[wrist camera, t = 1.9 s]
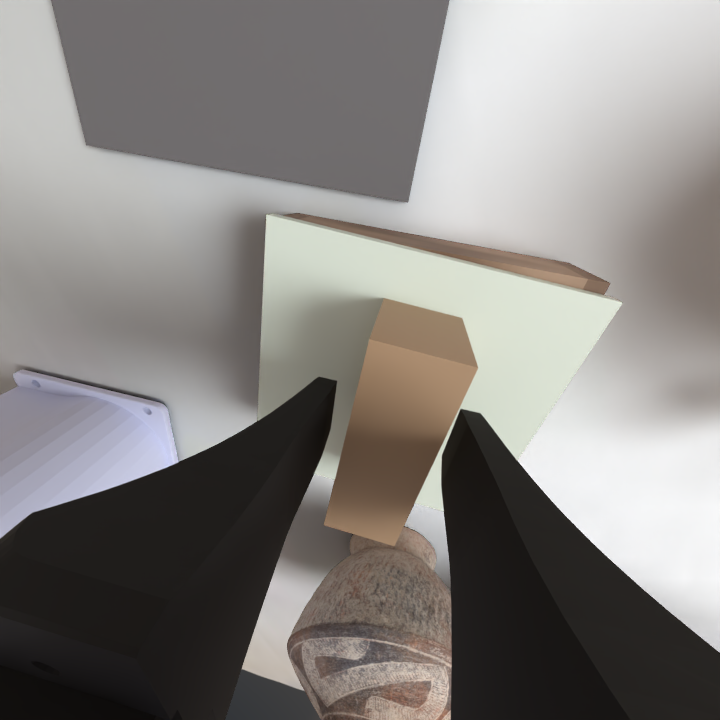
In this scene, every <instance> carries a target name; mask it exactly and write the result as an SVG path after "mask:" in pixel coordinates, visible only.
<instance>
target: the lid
mask: <svg viewBox="0 0 720 720" xmlns="http://www.w3.org/2000/svg"><path fill="white" fill-rule="evenodd" d="M622 303H623V302H621V301H619V300H617V299H615V298H614V297H610V296H606V295H602V294H598V293H594V292H590V291H586V290H582V289H578V288H574V287H570V286H566V285H562V284H558V283H554V282H550V281H546V280H542V279H537V278H533V277H529V276H525V275H521V274H517V273H513V272H509V271H505V270H501V269H497V268H493V267H489V266H485V265H481V264H477V263H473V262H469V261H465V260H461V259H457V258H452V257H448V256H444V255H440V254H436V253H432V252H428V251H424V250H420V249H416V248H412V247H408V246H404V245H400V244H396V243H392V242H388V241H384V240H380V239H376V238H371V237H367V236H363V235H359V234H355V233H351V232H347V231H343V230H339V229H335V228H331V227H327V226H323V225H319V224H315V223H311V222H307V221H303V220H299V219H295V218H291V217H286V216H282V215H278V214H274V213H273V214H266V233H265V255H264V278H263V300H262V322H261V345H260V367H259V389H258V411H257V421H258V420H260V419H262V418H263V417H265V416H266V415H268V414H269V413H271V412H272V411H274V410H275V409H277V408H278V407H279V406H281V405H282V404H283V403H285V402H286V401H288V400H289V399H290V398H292V397H293V396H294V395H296V394H297V393H298V392H299V391H301V390H302V389H303V388H305V387H306V386H307V385H308V384H309V383H311V382H312V381H313V380H314V379H316V378H317V377H323V378H328V379H332V380H336V381H337V387H336V394H335V402H334V409H333V416H332V423H331V430H330V433H329V436H328V439H327V442H326V445H325V448H324V451H323V455H322V457H321V459H320V462H319V464H318V466H317V468H316V471H315V473H314V474H315V475H319V476H322V477H326V478H329V479H333V480H335V481H334V485H333V489H332V493H331V497H330V501H329V505H328V510H327V514H326V518H325V522H324V525H325V526H328V527H331V528H335V529H338V530H341V531H345V532H348V533H351V534H355V535H358V536H361V537H365V538H368V539H372V540H375V541H378V542H382V543H385V544H388V545H392V546H395V544H396V542H397V539H398V537H399V535H400V533H401V531H402V529H403V527H404V525H405V522H406V520H407V518H408V516H409V514H410V512H411V510H412V508H413V506H414V503H415V504H419V505H422V506H426V507H429V508H433V509H436V510H439V511H443V512H444V508H443V499H442V489H441V465H442V454H443V451H444V449H445V446H446V444H447V441H448V439H449V436H450V434H451V431H452V429H453V426H454V424H455V421H456V419H457V416H458V414H459V411H460V409H465V410H469V411H473V412H478V413H481V414H482V416H483V417H484V418H485V419H486V421H487V422H488V423H489V424H490V426H491V427H492V428H493V430H494V431H495V432H496V434H497V435H498V436H499V438H500V439H501V440H502V442H503V443H504V444H505V446H506V447H507V448H508V450H509V451H510V452H511V453H512V455H513V456H514V457H515V458H516V460H518V459H519V457H520V456H521V454H522V453H523V451H524V450H525V448H526V447H527V446H528V444H529V443H530V441H531V440H532V438H533V437H534V435H535V434H536V432H537V431H538V429H539V428H540V426H541V425H542V423H543V422H544V420H545V419H546V417H547V416H548V414H549V413H550V411H551V410H552V408H553V407H554V405H555V404H556V402H557V401H558V399H559V398H560V396H561V395H562V393H563V392H564V390H565V389H566V387H567V386H568V384H569V383H570V381H571V380H572V378H573V377H574V375H575V374H576V372H577V371H578V369H579V368H580V366H581V365H582V363H583V362H584V360H585V359H586V357H587V356H588V354H589V353H590V351H591V350H592V348H593V347H594V345H595V344H596V342H597V341H598V339H599V338H600V336H601V335H602V333H603V332H604V330H605V329H606V327H607V326H608V324H609V323H610V321H611V320H612V318H613V317H614V315H615V314H616V312H617V311H618V309H619V308H620V306H621V305H622Z"/></svg>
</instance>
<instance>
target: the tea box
mask: <svg viewBox="0 0 720 720" xmlns="http://www.w3.org/2000/svg"><path fill="white" fill-rule="evenodd" d="M283 216H286V217H291V218H295V219H299V220H303V221H307V222H311V223H315V224H319V225H323V226H327V227H331V228H335V229H339V230H343V231H347V232H351V233H355V234H359V235H363V236H367V237H371V238H376V239H380V240H384V241H388V242H392V243H396V244H400V245H404V246H408V247H412V248H416V249H420V250H424V251H428V252H432V253H436V254H440V255H444V256H448V257H452V258H457V259H461V260H465V261H469V262H473V263H477V264H481V265H485V266H489V267H493V268H497V269H501V270H505V271H509V272H513V273H517V274H521V275H525V276H529V277H533V278H537V279H542V280H546V281H550V282H554V283H558V284H562V285H566V286H570V287H574V288H578V289H582V290H586V291H590V292H594V293H598V294H602V295H604V294H605V292H606V290H607V289H608V287H609V285H610V283H609V282H607V281H605V280H603V279H601V278H599V277H597V276H595V275H592V274H590V273H588V272H586V271H584V270H582V269H580V268H578V267H576V266H574V265H572V264H570V263H566V262H560V261H555V260H549V259H544V258H539V257H533V256H528V255H522V254H517V253H511V252H506V251H501V250H495V249H490V248H484V247H479V246H473V245H468V244H463V243H457V242H452V241H446V240H441V239H435V238H430V237H425V236H419V235H414V234H408V233H403V232H397V231H392V230H387V229H381V228H376V227H370V226H365V225H359V224H354V223H349V222H343V221H338V220H332V219H327V218H322V217H316V216H311V215H305V214H300V213H295V214H289V215H283ZM265 232H266V219H265Z"/></svg>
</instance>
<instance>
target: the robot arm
mask: <svg viewBox="0 0 720 720" xmlns="http://www.w3.org/2000/svg"><path fill="white" fill-rule="evenodd" d="M13 377H14V380H15V382H16V384H17V386H18V387H15V388H13V389H11V390H9V391H7V392H5V393H3V394H1V395H0V720H225V718H226V715H227V712H228V709H229V706H230V703H231V700H232V696H233V693H234V690H235V687H236V684H237V681H238V678H239V675H240V671H241V669H242V665H243V662H244V659H245V656H246V653H247V650H248V647H249V644H250V641H251V638H252V635H253V632H254V629H255V626H256V623H257V620H258V617H259V614H260V611H261V608H262V605H263V602H264V599H265V596H266V593H267V590H268V588H269V585H270V582H271V579H272V576H273V573H274V570H275V567H276V564H277V562H278V559H279V556H280V553H281V550H282V547H283V544H284V542H285V539H286V536H287V533H288V531H289V529H290V526H291V524H292V521H293V519H294V517H295V514H296V512H297V510H298V508H299V506H300V504H301V501H302V499H303V497H304V495H305V493H306V490H307V488H308V486H309V484H310V482H311V479H312V477H313V475H314V473H315V471H316V468H317V466H318V464H319V462H320V459H321V457H322V455H323V451H324V448H325V445H326V442H327V439H328V436H329V433H330V430H331V423H332V416H333V409H334V402H335V394H336V387H337V381H336V380H332V379H328V378H323V377H317V378H316V379H314V380H313V381H312V382H311V383H309V384H308V385H307V386H306V387H305V388H303V389H302V390H301V391H299V392H298V393H297V394H296V395H294V396H293V397H292V398H290V399H289V400H288V401H286V402H285V403H283V404H282V405H281V406H279V407H278V408H277V409H275V410H274V411H272V412H271V413H269V414H268V415H266V416H265V417H263V418H262V419H260V420H258V421H257V422H255V423H254V424H252V425H251V426H249V427H247V428H246V429H244V430H242V431H241V432H239V433H237V434H235V435H234V436H232V437H230V438H228V439H226V440H224V441H223V442H221V443H219V444H217V445H215V446H213V447H211V448H209V449H207V450H205V451H202V452H200V453H198V454H196V455H193V456H191V457H189V458H187V459H185V460H182V461H180V462H179V461H178V456H177V452H176V447H175V442H174V437H173V432H172V427H171V422H170V417H169V413H168V409H167V407H166V406H165V405H163V404H162V403H159V402H155V401H151V400H147V399H143V398H139V397H134V396H130V395H126V394H122V393H118V392H114V391H110V390H106V389H101V388H97V387H93V386H89V385H85V384H81V383H77V382H73V381H68V380H64V379H60V378H56V377H52V376H48V375H44V374H40V373H35V372H31V371H27V370H19V371H17V372H15V373H14V374H13ZM441 489H442V499H443V508H444V517H445V526H446V535H447V544H448V553H449V562H450V576H451V649H452V667H451V720H720V653H719V652H718V651H717V650H715V649H714V648H713V647H712V646H710V645H709V644H708V643H707V642H706V641H704V640H703V639H702V638H701V637H699V636H698V635H697V634H696V633H695V632H693V631H692V630H691V629H690V628H688V627H687V626H686V625H685V624H683V623H682V622H681V621H680V620H679V619H677V618H676V617H675V616H674V615H672V614H671V613H670V612H669V611H668V610H666V609H665V608H664V607H663V606H662V605H661V604H659V603H658V602H657V601H656V600H655V599H654V598H652V597H651V596H650V595H649V594H648V593H647V592H645V591H644V590H643V589H642V588H641V587H640V586H639V585H637V584H636V583H635V582H634V581H633V580H632V579H631V578H630V577H629V576H627V575H626V574H625V573H624V572H623V571H622V570H621V569H620V568H619V567H618V566H616V565H615V564H614V563H613V562H612V561H611V560H610V559H609V558H608V557H606V556H605V555H604V554H603V553H602V552H601V551H600V550H599V549H598V548H597V547H596V546H595V545H594V544H593V543H592V542H591V541H590V540H589V539H588V538H587V537H586V536H585V535H584V534H583V533H582V532H581V531H580V530H579V529H578V528H577V527H576V526H575V525H574V524H573V523H572V522H571V521H570V520H569V519H568V518H567V517H566V516H565V515H564V514H563V513H562V512H561V511H560V510H559V509H558V508H557V507H556V505H555V504H554V503H553V502H552V501H551V500H550V499H549V498H548V497H547V495H546V494H545V493H544V492H543V491H542V490H541V489H540V487H539V486H538V485H537V484H536V483H535V482H534V481H533V479H532V478H531V477H530V476H529V475H528V473H527V472H526V471H525V470H524V468H523V467H522V466H521V465H520V464H519V462H518V461H517V460H516V458H515V457H514V456H513V455H512V453H511V452H510V451H509V450H508V448H507V447H506V446H505V444H504V443H503V442H502V440H501V439H500V438H499V436H498V435H497V434H496V432H495V431H494V430H493V428H492V427H491V426H490V424H489V423H488V422H487V421H486V419H485V418H484V417H483V416H482V414H481V413H478V412H473V411H469V410H465V409H460V411H459V414H458V416H457V419H456V421H455V424H454V426H453V429H452V431H451V434H450V436H449V439H448V441H447V444H446V446H445V449H444V451H443V454H442V465H441Z"/></svg>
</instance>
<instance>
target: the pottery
mask: <svg viewBox="0 0 720 720" xmlns="http://www.w3.org/2000/svg"><path fill="white" fill-rule="evenodd" d="M350 554H351V555H350V556H349V557H347V558H345V559H344V560H343V561H341V562H340V563H339V564H338V565H337V566H335V567H334V568H333V569H332V570H331V571H330V572H329V574H328V575H327V576H326V577H325V579H324V580H323V581H322V583H321V584H320V586H319V587H318V588H317V590H316V591H315V593H314V594H313V596H312V598H311V599H310V601H309V602H308V603H307V605H306V607H305V608H304V610H303V612H302V614H301V616H300V618H299V620H298V621H297V623H296V625H295V627H294V629H293V631H292V634H291V636H290V638H289V640H288V643H287V650H288V655H289V658H290V660H291V663H292V665H293V668H294V670H295V673H296V675H297V677H298V679H299V681H300V683H301V685H302V687H303V689H304V690H305V692H306V694H307V696H308V698H309V699H310V701H311V702H312V704H313V706H314V708H315V710H316V711H317V713H318V714H319V717H320V718H321V720H451V667H452V649H451V591H450V590H449V589H448V587H447V586H446V585H445V584H444V583H443V581H442V580H441V579H440V578H439V577H438V575H437V574H436V573H435V572H434V568H435V564H436V553H435V550H434V548H433V547H432V545H431V544H430V543H429V542H428V541H427V540H426V539H425V538H424V537H423V536H422V535H420V534H419V533H418V532H416V531H414V530H411V529H409V528H407V527H403V529H402V531H401V533H400V535H399V537H398V539H397V542H396V544H395V546H392V545H388V544H385V543H382V542H378V541H375V540H372V539H368V538H365V537H361V536H358V535H355V534H353V536H352V538H351V540H350Z"/></svg>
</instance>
